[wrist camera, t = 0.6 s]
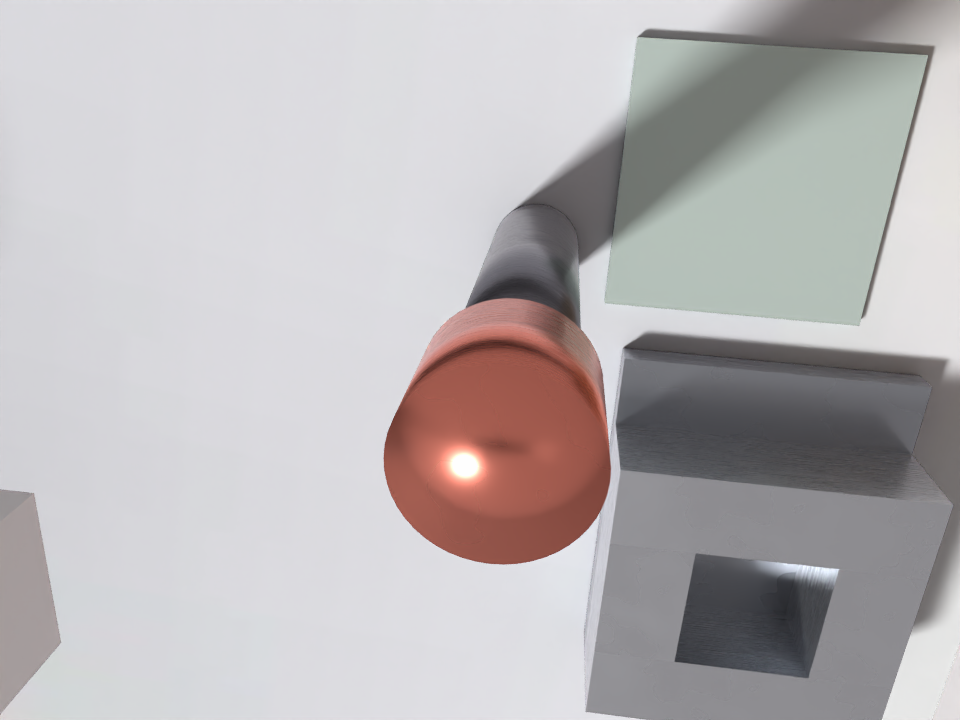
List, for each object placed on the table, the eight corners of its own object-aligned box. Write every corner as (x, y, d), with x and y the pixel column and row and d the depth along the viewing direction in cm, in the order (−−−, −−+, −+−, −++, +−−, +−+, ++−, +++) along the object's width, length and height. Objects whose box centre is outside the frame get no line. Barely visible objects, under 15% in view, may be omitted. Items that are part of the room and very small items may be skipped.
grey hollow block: (584, 631, 39) (585, 711, 34) (622, 347, 33) (631, 397, 28) (835, 662, 38) (872, 748, 33) (919, 375, 32) (978, 431, 27)
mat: (604, 300, 32) (605, 303, 32) (637, 37, 29) (637, 37, 28) (855, 322, 32) (859, 325, 31) (924, 54, 28) (928, 55, 27)
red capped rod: (478, 293, 33) (382, 551, 16) (485, 187, 31) (385, 352, 15) (584, 302, 32) (597, 575, 16) (596, 195, 31) (624, 376, 14)
